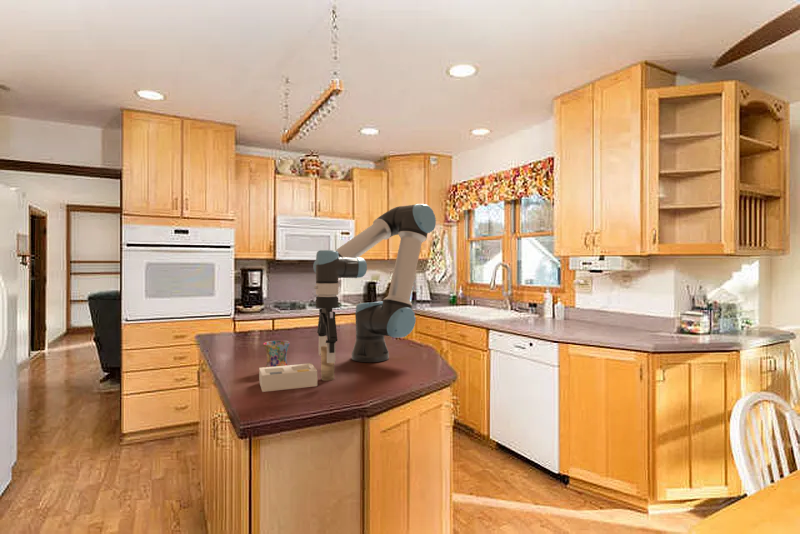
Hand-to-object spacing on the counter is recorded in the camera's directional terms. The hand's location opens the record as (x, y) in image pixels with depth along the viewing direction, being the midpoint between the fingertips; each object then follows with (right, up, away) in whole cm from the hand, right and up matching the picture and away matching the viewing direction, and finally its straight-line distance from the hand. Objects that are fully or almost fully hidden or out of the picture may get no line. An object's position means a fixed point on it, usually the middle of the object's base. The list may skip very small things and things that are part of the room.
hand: (326, 358), depth 155 cm
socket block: (-11, -7, -6) cm, 15 cm away
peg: (0, -7, 0) cm, 7 cm away
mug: (-20, -7, +12) cm, 24 cm away
